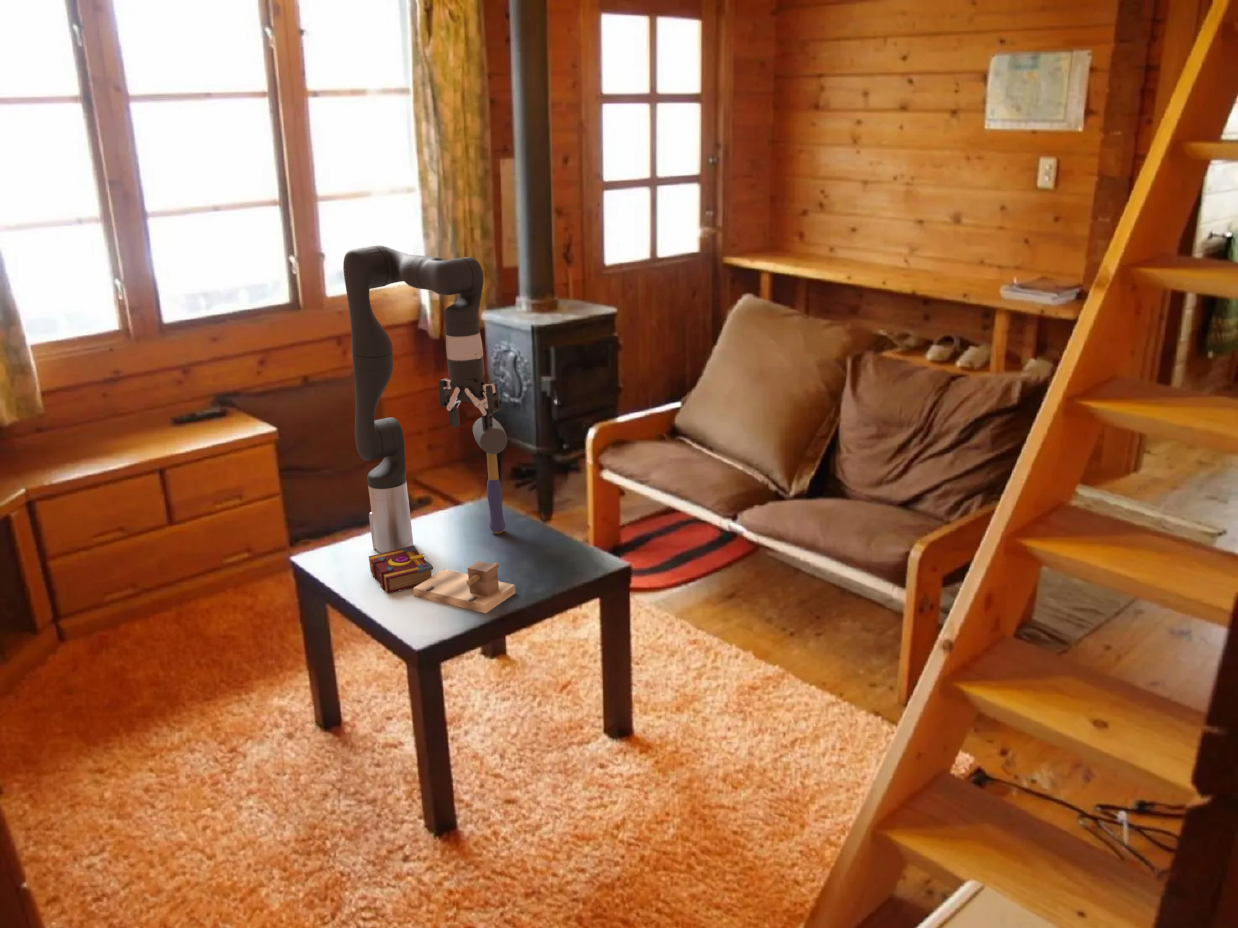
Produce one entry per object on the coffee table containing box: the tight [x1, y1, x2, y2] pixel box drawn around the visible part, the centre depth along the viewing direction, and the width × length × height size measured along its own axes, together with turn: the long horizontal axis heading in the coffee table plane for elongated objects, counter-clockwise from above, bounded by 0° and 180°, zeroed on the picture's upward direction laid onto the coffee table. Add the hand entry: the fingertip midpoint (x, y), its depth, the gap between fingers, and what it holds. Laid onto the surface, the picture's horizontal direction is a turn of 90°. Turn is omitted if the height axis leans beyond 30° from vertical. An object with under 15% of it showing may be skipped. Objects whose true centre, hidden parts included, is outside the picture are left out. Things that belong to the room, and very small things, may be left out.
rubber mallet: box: [472, 416, 508, 534], centre depth 264 cm, size 12×8×30 cm, turn 17°
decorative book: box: [368, 544, 435, 594], centre depth 244 cm, size 11×16×5 cm
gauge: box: [466, 561, 500, 597], centre depth 230 cm, size 5×10×6 cm, turn 150°
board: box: [412, 568, 516, 614], centre depth 234 cm, size 20×11×2 cm, turn 60°
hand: (471, 428), depth 224 cm, fingers open, 8 cm apart
